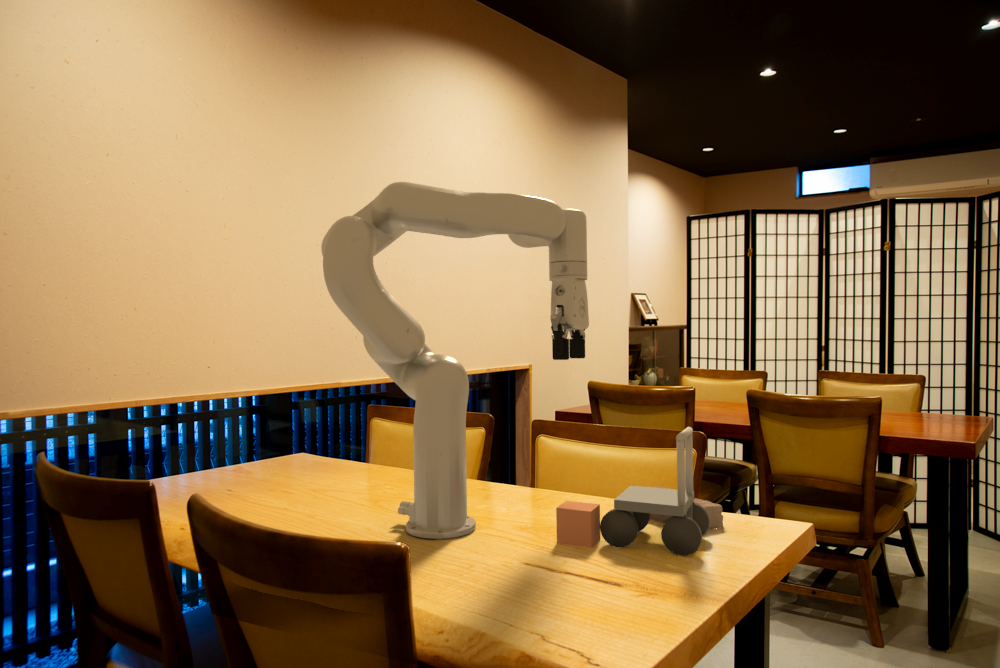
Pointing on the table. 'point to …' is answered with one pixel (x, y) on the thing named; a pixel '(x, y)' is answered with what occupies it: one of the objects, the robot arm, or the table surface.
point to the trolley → (661, 509)
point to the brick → (711, 508)
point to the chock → (578, 524)
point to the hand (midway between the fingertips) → (569, 358)
